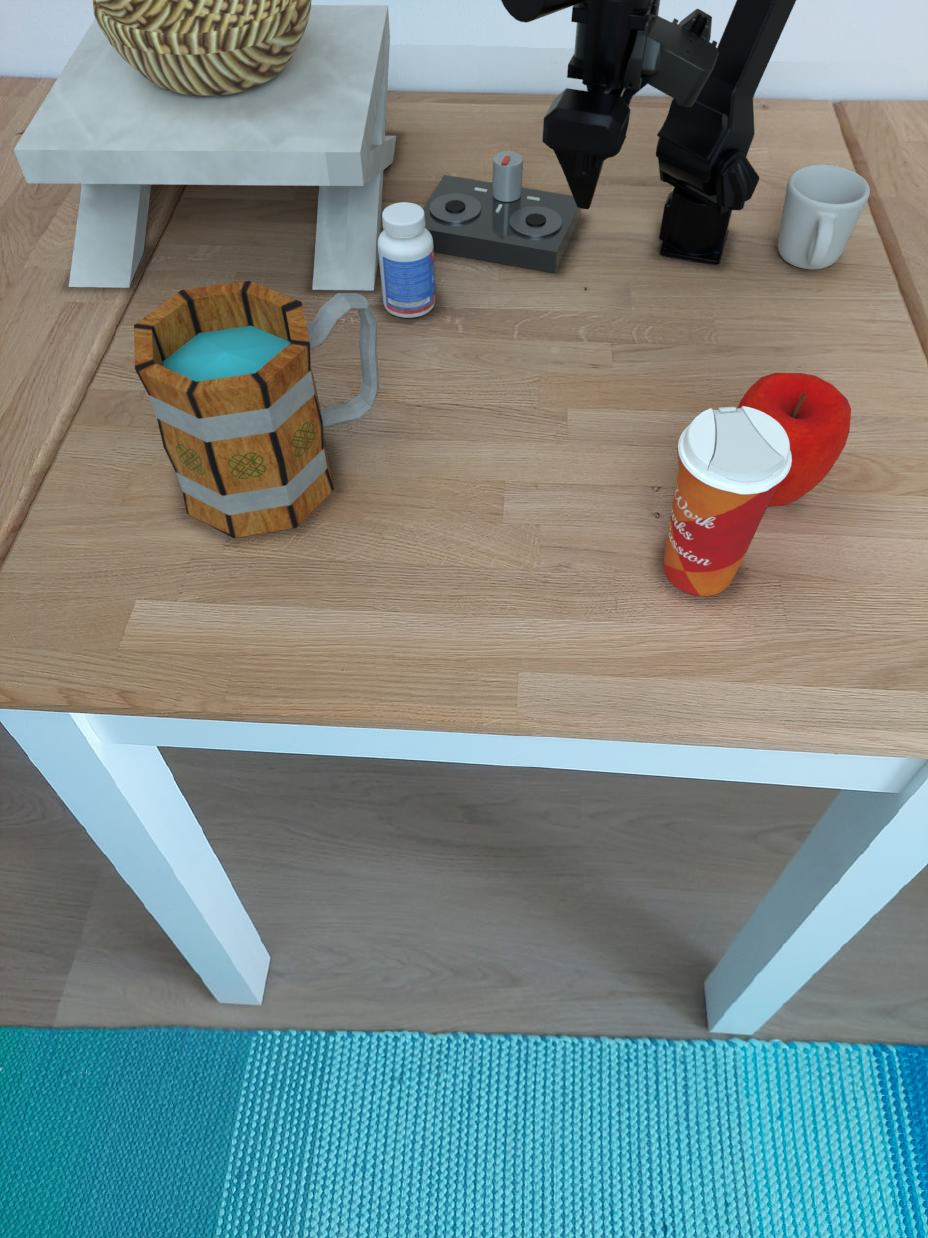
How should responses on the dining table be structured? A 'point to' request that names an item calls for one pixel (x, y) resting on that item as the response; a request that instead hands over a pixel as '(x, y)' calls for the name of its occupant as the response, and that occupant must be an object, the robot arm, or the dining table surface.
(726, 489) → the paper cup
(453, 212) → the burners
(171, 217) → the dining table surface
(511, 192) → the hob knob
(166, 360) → the mug
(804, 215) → the cup
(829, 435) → the apple
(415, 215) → the pill bottle
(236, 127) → the grey stone stand
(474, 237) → the hob
